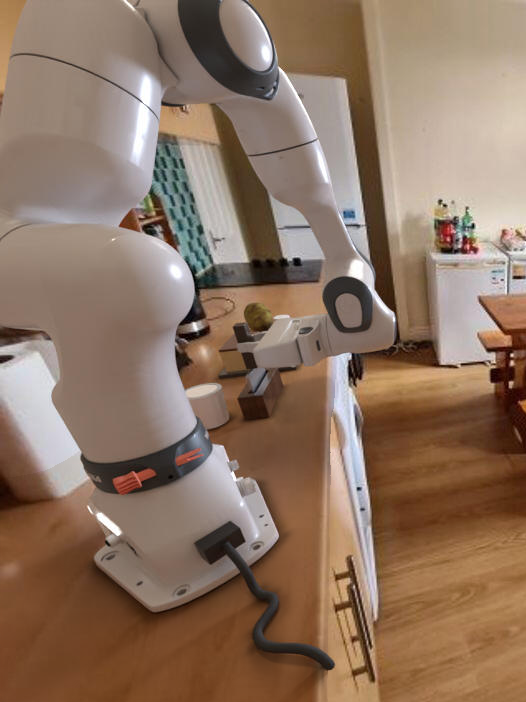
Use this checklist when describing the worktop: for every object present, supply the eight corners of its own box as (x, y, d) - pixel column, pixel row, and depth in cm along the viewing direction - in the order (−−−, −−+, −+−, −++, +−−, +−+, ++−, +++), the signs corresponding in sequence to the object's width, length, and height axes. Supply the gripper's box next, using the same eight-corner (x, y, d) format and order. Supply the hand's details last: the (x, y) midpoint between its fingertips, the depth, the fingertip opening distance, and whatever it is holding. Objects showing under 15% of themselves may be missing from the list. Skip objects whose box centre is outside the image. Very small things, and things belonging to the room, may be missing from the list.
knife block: (269, 416, 83) (262, 394, 81) (244, 420, 82) (236, 398, 80) (283, 386, 95) (277, 366, 93) (262, 389, 94) (255, 369, 92)
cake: (296, 369, 103) (289, 344, 100) (219, 378, 99) (209, 353, 96) (305, 348, 116) (299, 325, 113) (237, 355, 112) (229, 332, 109)
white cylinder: (213, 433, 78) (199, 400, 75) (182, 429, 79) (168, 397, 76) (241, 414, 84) (230, 383, 81) (212, 411, 85) (200, 381, 82)
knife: (261, 403, 83) (237, 331, 76) (250, 404, 83) (225, 333, 76) (272, 382, 92) (252, 316, 85) (262, 383, 91) (241, 317, 85)
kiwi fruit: (244, 338, 124) (236, 312, 120) (249, 326, 134) (242, 301, 131) (275, 334, 127) (268, 309, 123) (278, 322, 137) (271, 298, 134)
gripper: (319, 308, 93) (250, 314, 90) (304, 338, 75) (218, 346, 72) (325, 334, 96) (259, 341, 92) (312, 369, 78) (230, 379, 75)
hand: (241, 344), depth 82 cm, fingers closed on knife, 2 cm apart
